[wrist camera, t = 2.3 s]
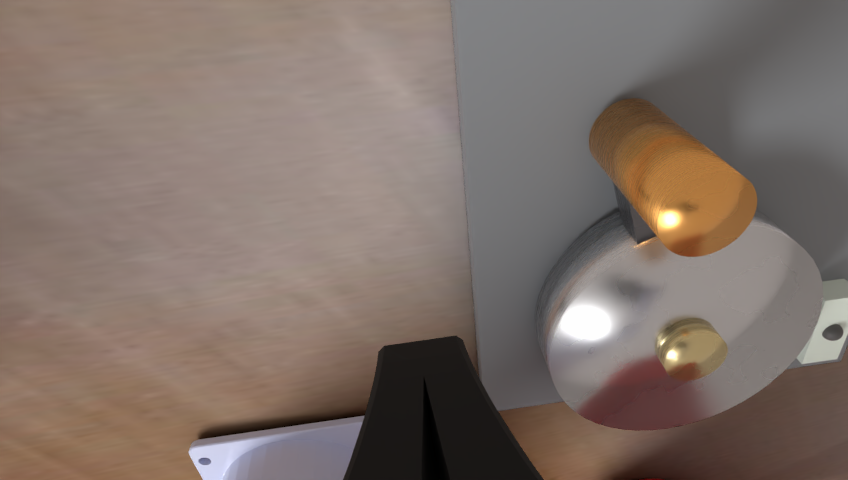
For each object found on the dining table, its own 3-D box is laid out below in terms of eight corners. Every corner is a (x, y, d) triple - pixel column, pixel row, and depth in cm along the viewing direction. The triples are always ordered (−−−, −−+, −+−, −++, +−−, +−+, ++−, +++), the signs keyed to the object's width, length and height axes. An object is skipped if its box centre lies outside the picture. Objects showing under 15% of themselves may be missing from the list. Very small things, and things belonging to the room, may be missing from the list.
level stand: (824, 344, 24) (864, 386, 22) (480, 394, 24) (490, 440, 22) (991, -79, 15) (1084, -72, 13) (449, -7, 15) (462, 11, 13)
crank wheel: (785, 344, 22) (877, 446, 18) (565, 415, 23) (606, 525, 19) (780, 38, 15) (923, 95, 11) (469, 159, 16) (502, 248, 12)
